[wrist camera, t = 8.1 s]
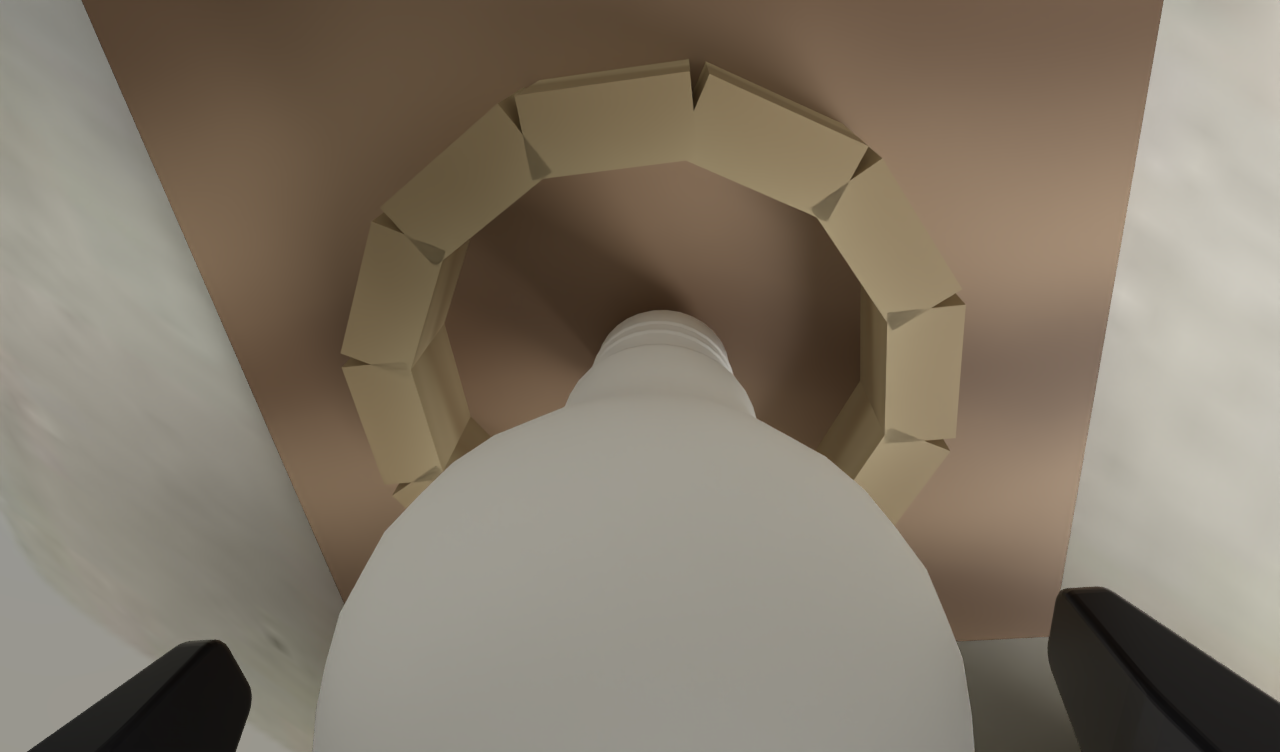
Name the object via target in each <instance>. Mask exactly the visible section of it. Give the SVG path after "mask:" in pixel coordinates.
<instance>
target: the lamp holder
mask: <svg viewBox="0 0 1280 752" xmlns="http://www.w3.org/2000/svg"><path fill="white" fill-rule="evenodd" d="M1163 1H1164V0H82V2H83V5H84V7H85V9H86V12H87V14H88V16H89V18H90V21H91V23H92V25H93V28H94V30H95V32H96V35H97V37H98V39H99V41H100V44H101V46H102V48H103V51H104V53H105V55H106V57H107V60H108V62H109V64H110V67H111V69H112V71H113V74H114V76H115V78H116V80H117V83H118V85H119V87H120V90H121V92H122V94H123V97H124V99H125V101H126V103H127V106H128V108H129V110H130V113H131V115H132V117H133V120H134V122H135V124H136V126H137V129H138V131H139V133H140V136H141V138H142V140H143V142H144V145H145V147H146V149H147V152H148V154H149V156H150V159H151V161H152V163H153V165H154V168H155V170H156V172H157V175H158V177H159V179H160V182H161V184H162V186H163V188H164V191H165V193H166V195H167V198H168V200H169V202H170V204H171V207H172V209H173V211H174V214H175V216H176V218H177V221H178V223H179V225H180V227H181V230H182V232H183V234H184V237H185V239H186V241H187V244H188V246H189V248H190V250H191V253H192V255H193V257H194V260H195V262H196V264H197V267H198V269H199V271H200V273H201V276H202V278H203V280H204V283H205V285H206V287H207V289H208V292H209V294H210V296H211V299H212V301H213V303H214V306H215V308H216V310H217V312H218V315H219V317H220V319H221V322H222V324H223V326H224V329H225V331H226V333H227V335H228V338H229V340H230V342H231V345H232V347H233V349H234V351H235V354H236V356H237V358H238V361H239V363H240V365H241V368H242V370H243V372H244V374H245V377H246V379H247V381H248V384H249V386H250V388H251V391H252V393H253V395H254V397H255V400H256V402H257V404H258V407H259V409H260V411H261V413H262V416H263V418H264V420H265V423H266V425H267V427H268V430H269V432H270V434H271V436H272V439H273V441H274V443H275V446H276V448H277V450H278V453H279V455H280V457H281V459H282V462H283V464H284V466H285V469H286V471H287V473H288V476H289V478H290V480H291V482H292V485H293V487H294V489H295V492H296V494H297V496H298V498H299V501H300V503H301V505H302V508H303V510H304V512H305V515H306V517H307V519H308V521H309V524H310V526H311V528H312V531H313V533H314V535H315V538H316V540H317V542H318V544H319V547H320V549H321V551H322V554H323V556H324V558H325V560H326V563H327V565H328V567H329V570H330V572H331V574H332V577H333V579H334V581H335V583H336V586H337V588H338V590H339V593H340V595H341V597H342V600H343V602H344V604H345V603H346V601H347V599H348V597H349V595H350V593H351V592H352V590H353V588H354V586H355V584H356V582H357V580H358V579H359V577H360V575H361V573H362V571H363V569H364V568H365V566H366V564H367V562H368V561H369V559H370V557H371V555H372V553H373V552H374V550H375V548H376V546H377V544H378V543H379V541H380V539H381V537H382V535H383V534H384V532H385V531H386V530H387V529H388V528H389V527H390V525H391V524H392V523H393V522H394V521H395V520H396V519H397V518H398V517H399V516H400V515H401V514H402V513H403V512H404V511H405V510H406V509H407V508H408V506H409V505H410V504H411V503H412V502H413V501H414V500H415V499H416V498H417V497H418V496H419V495H420V494H421V493H422V492H423V491H424V490H425V489H426V488H427V487H428V486H429V485H430V484H431V483H432V482H433V481H434V480H435V479H436V478H437V477H438V476H439V475H440V474H441V473H443V472H444V471H445V470H446V469H447V468H448V467H449V466H450V465H451V464H452V463H453V462H455V461H456V460H458V459H459V458H461V457H462V456H464V455H465V454H467V453H468V452H470V451H471V450H473V449H474V448H476V447H477V446H479V445H480V444H482V443H483V442H485V441H486V440H488V439H489V438H491V437H492V436H494V435H496V434H499V433H501V432H504V431H506V430H508V429H511V428H513V427H516V426H518V425H521V424H523V423H526V422H528V421H531V420H533V419H536V418H538V417H541V416H543V415H546V414H548V413H551V412H553V411H556V410H558V409H560V408H563V407H565V405H566V402H567V400H568V398H569V395H570V393H571V392H572V390H573V389H574V387H575V386H576V384H577V382H578V381H579V380H580V379H581V378H582V377H583V376H584V375H585V374H586V373H587V372H588V370H589V369H590V368H591V367H592V366H593V364H594V361H595V358H596V356H597V354H598V352H599V351H600V348H601V346H602V344H603V342H604V341H605V339H606V337H607V336H608V334H609V333H610V332H611V331H612V330H613V329H614V328H615V327H616V326H617V325H619V324H620V323H622V322H623V321H625V320H626V319H627V318H630V317H632V316H634V315H637V314H639V313H643V312H648V311H652V310H670V311H676V312H681V313H684V314H687V315H690V316H693V317H694V318H696V319H698V320H700V321H701V322H703V323H705V324H706V325H707V326H708V327H709V328H710V329H711V330H713V331H714V333H715V334H716V335H717V336H718V338H719V339H720V340H721V342H722V344H723V346H724V348H725V350H726V353H727V357H728V361H729V364H730V366H731V368H732V371H733V375H734V376H735V378H736V379H737V380H738V382H739V383H740V384H741V385H742V387H743V388H744V389H745V391H746V393H747V395H748V397H749V399H750V401H751V403H752V405H753V408H754V412H755V415H756V418H757V419H758V420H760V421H762V422H764V423H766V424H768V425H769V426H771V427H773V428H775V429H777V430H778V431H780V432H782V433H784V434H786V435H787V436H789V437H791V438H793V439H795V440H797V441H798V442H800V443H802V444H804V445H806V446H807V447H809V448H811V449H813V450H815V451H816V452H818V453H820V454H822V455H824V456H825V457H827V458H828V459H829V460H830V461H832V462H833V463H834V464H835V465H836V466H837V467H839V468H840V469H841V470H842V471H843V472H844V473H846V474H847V475H848V476H849V477H850V478H851V479H853V480H854V481H855V482H856V483H857V484H858V485H860V486H861V487H862V488H863V489H864V490H865V491H866V492H867V493H868V494H869V496H870V497H871V498H872V499H873V500H874V502H875V503H876V504H877V505H878V507H879V508H880V509H881V510H882V511H883V513H884V514H885V515H886V516H887V517H888V519H889V520H890V521H891V522H892V524H893V525H894V526H895V527H896V529H897V530H898V531H899V533H900V534H901V535H902V537H903V538H904V539H905V541H906V542H907V543H908V545H909V546H910V548H911V549H912V550H913V552H914V553H915V554H916V556H917V557H918V558H919V560H920V561H921V562H922V564H923V565H924V566H925V568H926V569H927V571H928V574H929V576H930V579H931V581H932V583H933V586H934V588H935V591H936V593H937V595H938V598H939V600H940V603H941V605H942V607H943V610H944V612H945V614H946V617H947V620H948V622H949V625H950V627H951V630H952V632H953V635H954V637H955V640H956V641H975V640H994V639H1013V638H1033V637H1049V635H1050V629H1051V623H1052V617H1053V612H1054V606H1055V600H1056V597H1057V595H1058V593H1059V592H1060V589H1061V583H1062V578H1063V572H1064V566H1065V561H1066V555H1067V549H1068V543H1069V538H1070V532H1071V526H1072V521H1073V515H1074V509H1075V503H1076V498H1077V492H1078V486H1079V481H1080V475H1081V469H1082V463H1083V458H1084V452H1085V446H1086V441H1087V435H1088V429H1089V423H1090V418H1091V412H1092V406H1093V401H1094V395H1095V389H1096V383H1097V378H1098V372H1099V366H1100V361H1101V355H1102V349H1103V343H1104V338H1105V332H1106V326H1107V321H1108V315H1109V309H1110V303H1111V298H1112V292H1113V286H1114V281H1115V275H1116V269H1117V263H1118V258H1119V252H1120V246H1121V241H1122V235H1123V229H1124V223H1125V218H1126V212H1127V206H1128V201H1129V195H1130V189H1131V184H1132V178H1133V172H1134V166H1135V161H1136V155H1137V149H1138V144H1139V138H1140V132H1141V126H1142V121H1143V115H1144V109H1145V104H1146V98H1147V92H1148V86H1149V81H1150V75H1151V69H1152V64H1153V58H1154V52H1155V46H1156V41H1157V35H1158V29H1159V24H1160V18H1161V12H1162V6H1163Z"/></svg>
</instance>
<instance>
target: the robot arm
mask: <svg viewBox="0 0 1280 752" xmlns="http://www.w3.org/2000/svg"><path fill="white" fill-rule="evenodd" d="M1048 659H1049V664H1050V668H1051V671H1052V674H1053V676H1054V679H1055V682H1056V684H1057V687H1058V690H1059V693H1060V695H1061V698H1062V701H1063V703H1064V706H1065V709H1066V711H1067V714H1068V717H1069V719H1070V722H1071V725H1072V727H1073V730H1074V733H1075V735H1076V738H1077V741H1078V743H1079V746H1080V749H1081V752H1280V702H1279V701H1277V700H1275V699H1274V698H1272V697H1271V696H1269V695H1268V694H1266V693H1265V692H1263V691H1262V690H1260V689H1259V688H1257V687H1256V686H1254V685H1253V684H1251V683H1250V682H1248V681H1247V680H1245V679H1244V678H1242V677H1241V676H1239V675H1238V674H1236V673H1235V672H1233V671H1232V670H1230V669H1229V668H1227V667H1226V666H1224V665H1223V664H1221V663H1220V662H1218V661H1217V660H1215V659H1214V658H1212V657H1211V656H1209V655H1208V654H1206V653H1205V652H1203V651H1202V650H1200V649H1199V648H1197V647H1196V646H1194V645H1193V644H1191V643H1190V642H1188V641H1187V640H1185V639H1184V638H1182V637H1181V636H1179V635H1178V634H1176V633H1175V632H1173V631H1172V630H1170V629H1169V628H1167V627H1166V626H1164V625H1163V624H1161V623H1160V622H1158V621H1157V620H1155V619H1154V618H1152V617H1151V616H1149V615H1148V614H1146V613H1145V612H1143V611H1142V610H1140V609H1139V608H1137V607H1136V606H1134V605H1133V604H1131V603H1130V602H1128V601H1126V600H1125V599H1123V598H1122V597H1120V596H1119V595H1117V594H1116V593H1114V592H1113V591H1111V590H1109V589H1106V588H1104V587H1082V588H1066V589H1063V590H1061V591H1060V592H1059V593H1058V595H1057V597H1056V600H1055V606H1054V612H1053V617H1052V623H1051V629H1050V635H1049V641H1048ZM251 701H252V694H251V689H250V686H249V684H248V682H247V680H246V678H245V676H244V675H243V673H242V671H241V669H240V667H239V666H238V664H237V662H236V660H235V659H234V657H233V655H232V653H231V651H230V650H229V648H228V647H227V645H226V644H225V643H223V642H222V641H220V640H200V641H188V642H184V643H182V644H179V645H178V646H176V647H175V648H173V649H172V650H170V651H169V652H168V653H166V654H165V655H163V656H162V657H160V658H159V659H158V660H156V661H155V662H153V663H152V664H151V665H149V666H148V667H146V668H145V669H143V670H142V671H141V672H139V673H138V674H136V675H135V676H134V677H132V678H131V679H129V680H128V681H127V682H125V683H124V684H123V685H121V686H119V687H118V688H117V689H115V690H114V691H112V692H111V693H110V694H108V695H107V696H105V697H104V698H102V699H101V700H100V701H98V702H97V703H95V704H94V705H93V706H91V707H90V708H88V709H87V710H86V711H84V712H83V713H81V714H80V715H78V716H77V717H76V718H74V719H73V720H71V721H70V722H69V723H67V724H66V725H64V726H63V727H61V728H60V729H59V730H57V731H56V732H55V733H53V734H51V735H50V736H49V737H47V738H46V739H44V740H43V741H42V742H40V743H39V744H37V745H36V746H34V747H33V748H32V749H30V750H29V751H27V752H236V749H237V746H238V743H239V741H240V738H241V735H242V732H243V729H244V726H245V723H246V720H247V717H248V715H249V711H250V708H251Z"/></svg>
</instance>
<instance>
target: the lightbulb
mask: <svg viewBox="0 0 1280 752" xmlns="http://www.w3.org/2000/svg"><path fill="white" fill-rule="evenodd" d="M312 752H975V749H974V736H973V723H972V712H971V706H970V700H969V693H968V687H967V681H966V675H965V668H964V662H963V658H962V655H961V653H960V650H959V647H958V645H957V642H956V640H955V637H954V635H953V632H952V630H951V627H950V625H949V622H948V620H947V617H946V614H945V612H944V610H943V607H942V605H941V603H940V600H939V598H938V595H937V593H936V591H935V588H934V586H933V583H932V581H931V579H930V576H929V574H928V571H927V569H926V568H925V566H924V565H923V564H922V562H921V561H920V560H919V558H918V557H917V556H916V554H915V553H914V552H913V550H912V549H911V548H910V546H909V545H908V543H907V542H906V541H905V539H904V538H903V537H902V535H901V534H900V533H899V531H898V530H897V529H896V527H895V526H894V525H893V524H892V522H891V521H890V520H889V519H888V517H887V516H886V515H885V514H884V513H883V511H882V510H881V509H880V508H879V507H878V505H877V504H876V503H875V502H874V500H873V499H872V498H871V497H870V496H869V494H868V493H867V492H866V491H865V490H864V489H863V488H862V487H861V486H860V485H858V484H857V483H856V482H855V481H854V480H853V479H851V478H850V477H849V476H848V475H847V474H846V473H844V472H843V471H842V470H841V469H840V468H839V467H837V466H836V465H835V464H834V463H833V462H832V461H830V460H829V459H828V458H827V457H825V456H824V455H822V454H820V453H818V452H816V451H815V450H813V449H811V448H809V447H807V446H806V445H804V444H802V443H800V442H798V441H797V440H795V439H793V438H791V437H789V436H787V435H786V434H784V433H782V432H780V431H778V430H777V429H775V428H773V427H771V426H769V425H768V424H766V423H764V422H762V421H760V420H758V419H757V418H756V415H755V412H754V408H753V405H752V403H751V401H750V399H749V397H748V395H747V393H746V391H745V389H744V388H743V387H742V385H741V384H740V383H739V382H738V380H737V379H736V378H735V376H734V375H733V371H732V368H731V366H730V364H729V361H728V357H727V353H726V350H725V348H724V346H723V344H722V342H721V340H720V339H719V338H718V336H717V335H716V334H715V333H714V331H713V330H711V329H710V328H709V327H708V326H707V325H706V324H705V323H703V322H701V321H700V320H698V319H696V318H694V317H693V316H690V315H687V314H684V313H681V312H676V311H670V310H652V311H648V312H643V313H639V314H637V315H634V316H632V317H630V318H627V319H626V320H625V321H623V322H622V323H620V324H619V325H617V326H616V327H615V328H614V329H613V330H612V331H611V332H610V333H609V334H608V336H607V337H606V339H605V341H604V342H603V344H602V346H601V348H600V351H599V352H598V354H597V356H596V358H595V361H594V364H593V366H592V367H591V368H590V369H589V370H588V372H587V373H586V374H585V375H584V376H583V377H582V378H581V379H580V380H579V381H578V382H577V384H576V386H575V387H574V389H573V390H572V392H571V393H570V395H569V398H568V400H567V402H566V405H565V407H563V408H560V409H558V410H556V411H553V412H551V413H548V414H546V415H543V416H541V417H538V418H536V419H533V420H531V421H528V422H526V423H523V424H521V425H518V426H516V427H513V428H511V429H508V430H506V431H504V432H501V433H499V434H496V435H494V436H492V437H491V438H489V439H488V440H486V441H485V442H483V443H482V444H480V445H479V446H477V447H476V448H474V449H473V450H471V451H470V452H468V453H467V454H465V455H464V456H462V457H461V458H459V459H458V460H456V461H455V462H453V463H452V464H451V465H450V466H449V467H448V468H447V469H446V470H445V471H444V472H443V473H441V474H440V475H439V476H438V477H437V478H436V479H435V480H434V481H433V482H432V483H431V484H430V485H429V486H428V487H427V488H426V489H425V490H424V491H423V492H422V493H421V494H420V495H419V496H418V497H417V498H416V499H415V500H414V501H413V502H412V503H411V504H410V505H409V506H408V508H407V509H406V510H405V511H404V512H403V513H402V514H401V515H400V516H399V517H398V518H397V519H396V520H395V521H394V522H393V523H392V524H391V525H390V527H389V528H388V529H387V530H386V531H385V532H384V534H383V535H382V537H381V539H380V541H379V543H378V544H377V546H376V548H375V550H374V552H373V553H372V555H371V557H370V559H369V561H368V562H367V564H366V566H365V568H364V569H363V571H362V573H361V575H360V577H359V579H358V580H357V582H356V584H355V586H354V588H353V590H352V592H351V593H350V595H349V597H348V599H347V601H346V603H345V604H344V606H343V608H342V610H341V612H340V614H339V617H338V621H337V624H336V628H335V632H334V635H333V639H332V642H331V646H330V650H329V653H328V657H327V660H326V664H325V668H324V673H323V678H322V683H321V688H320V693H319V697H318V702H317V707H316V717H315V728H314V740H313V751H312Z"/></svg>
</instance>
